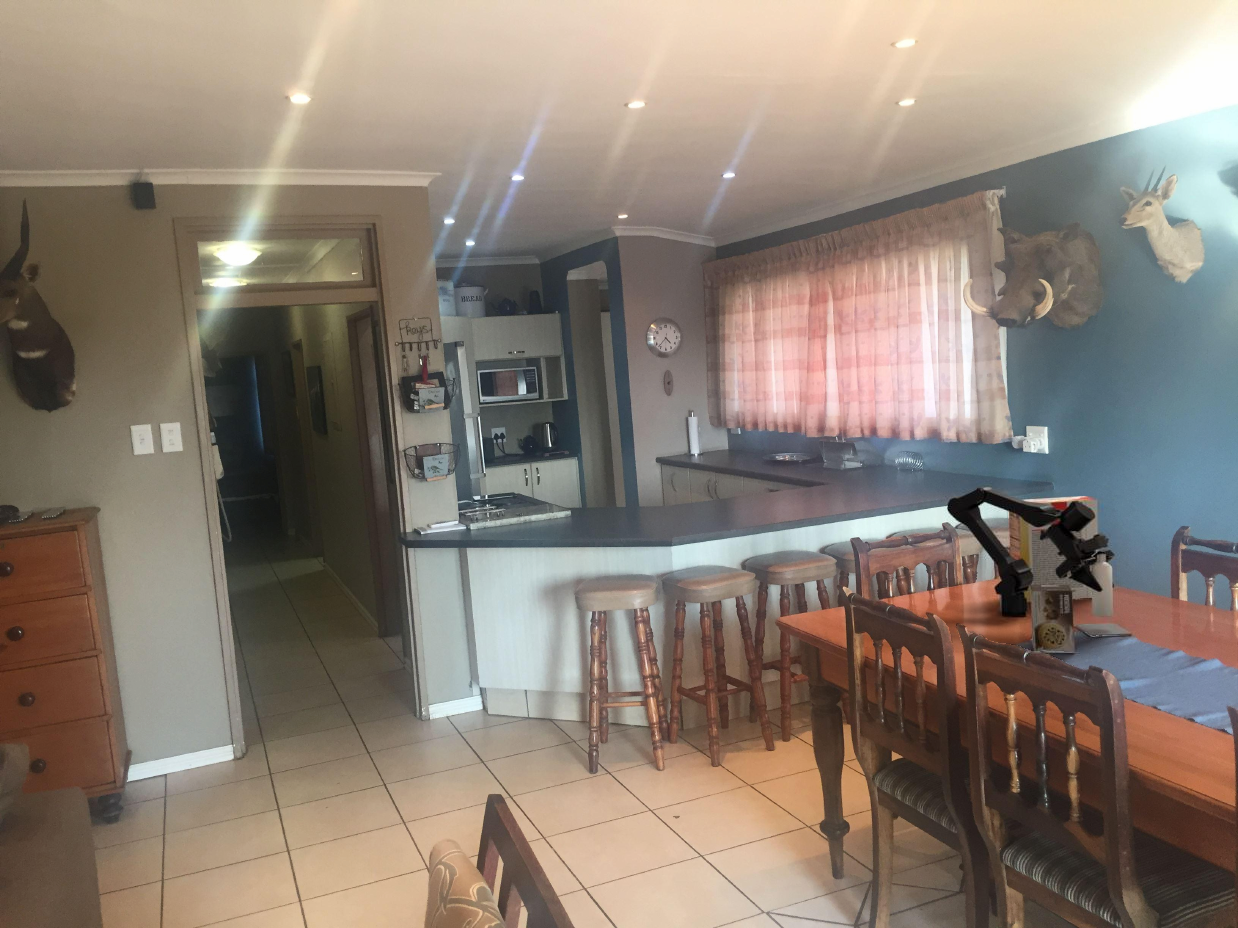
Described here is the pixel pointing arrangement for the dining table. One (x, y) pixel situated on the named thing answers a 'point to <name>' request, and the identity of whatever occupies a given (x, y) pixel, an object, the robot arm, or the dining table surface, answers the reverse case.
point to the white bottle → (1103, 599)
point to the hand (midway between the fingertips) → (1107, 589)
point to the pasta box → (1049, 546)
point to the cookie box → (1052, 618)
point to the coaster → (1103, 629)
